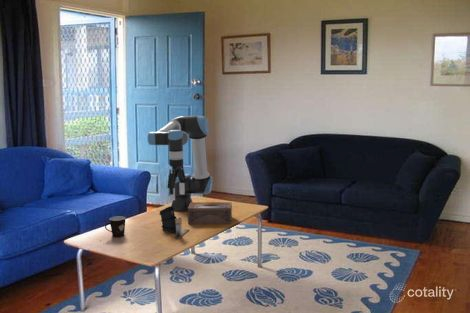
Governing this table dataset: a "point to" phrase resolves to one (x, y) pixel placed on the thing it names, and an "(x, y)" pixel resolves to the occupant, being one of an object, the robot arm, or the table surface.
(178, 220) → the metal flashlight
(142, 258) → the table surface
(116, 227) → the coffee mug
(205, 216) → the tissue box cover
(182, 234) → the strip
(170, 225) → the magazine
